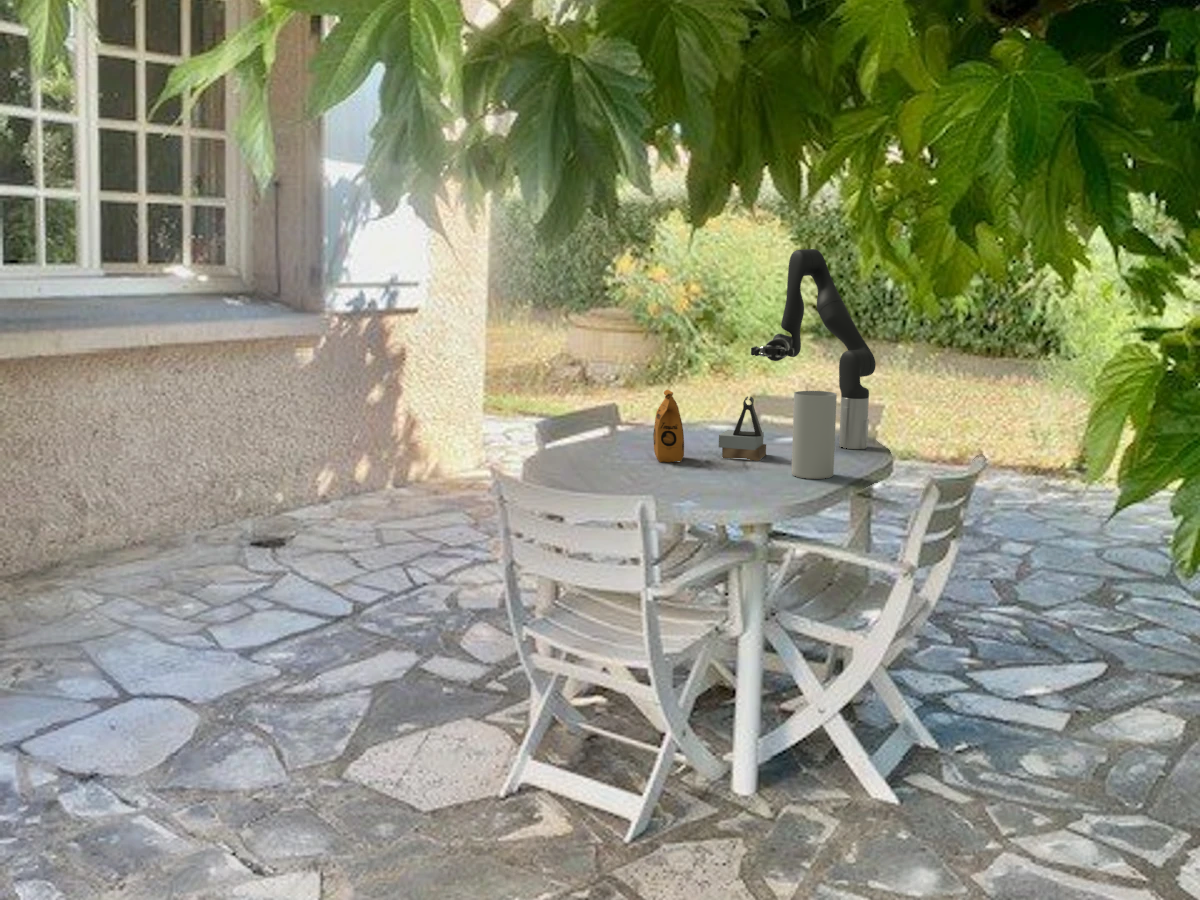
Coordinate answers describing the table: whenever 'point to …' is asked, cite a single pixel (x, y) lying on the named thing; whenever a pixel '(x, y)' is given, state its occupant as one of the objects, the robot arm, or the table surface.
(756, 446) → the top slab
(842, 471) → the table surface
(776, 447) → the table surface
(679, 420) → the coffee package
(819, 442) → the cylinder vase
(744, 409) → the black triangular frame
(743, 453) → the bottom slab
